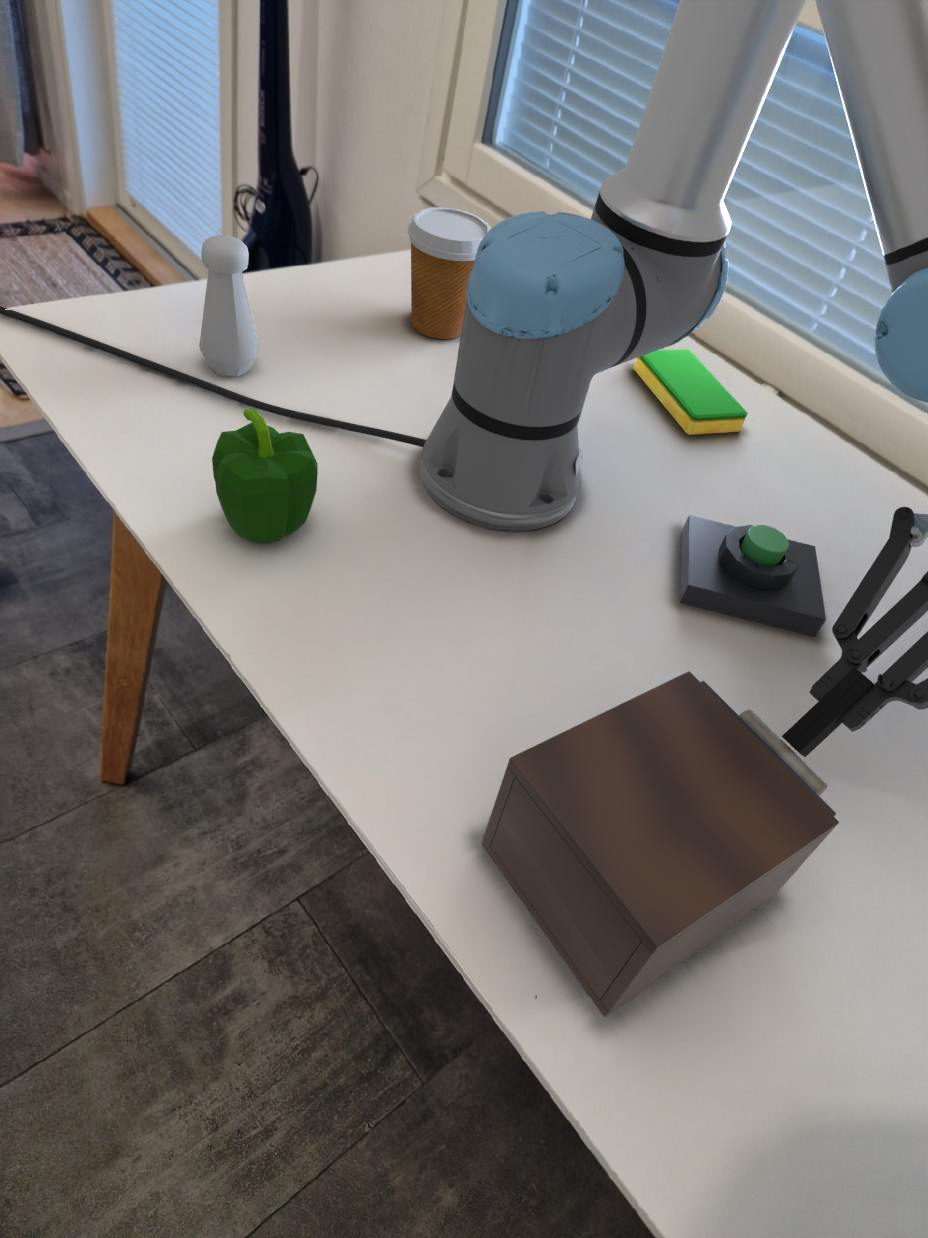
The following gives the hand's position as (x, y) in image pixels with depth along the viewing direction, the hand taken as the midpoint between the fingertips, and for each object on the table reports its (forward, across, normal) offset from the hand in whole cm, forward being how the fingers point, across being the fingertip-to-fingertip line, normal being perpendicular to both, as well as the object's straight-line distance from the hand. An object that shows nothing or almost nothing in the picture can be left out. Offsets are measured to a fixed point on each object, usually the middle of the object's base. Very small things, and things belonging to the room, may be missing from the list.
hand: (793, 747), depth 59 cm
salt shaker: (+12, +65, +5) cm, 66 cm away
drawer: (+10, 0, +4) cm, 10 cm away
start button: (-10, +16, -13) cm, 23 cm away
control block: (-7, +16, -15) cm, 23 cm away
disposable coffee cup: (-6, +65, -14) cm, 67 cm away
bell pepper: (+17, +41, +10) cm, 45 cm away
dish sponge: (-19, +41, -28) cm, 53 cm away
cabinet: (+13, 0, +6) cm, 14 cm away
